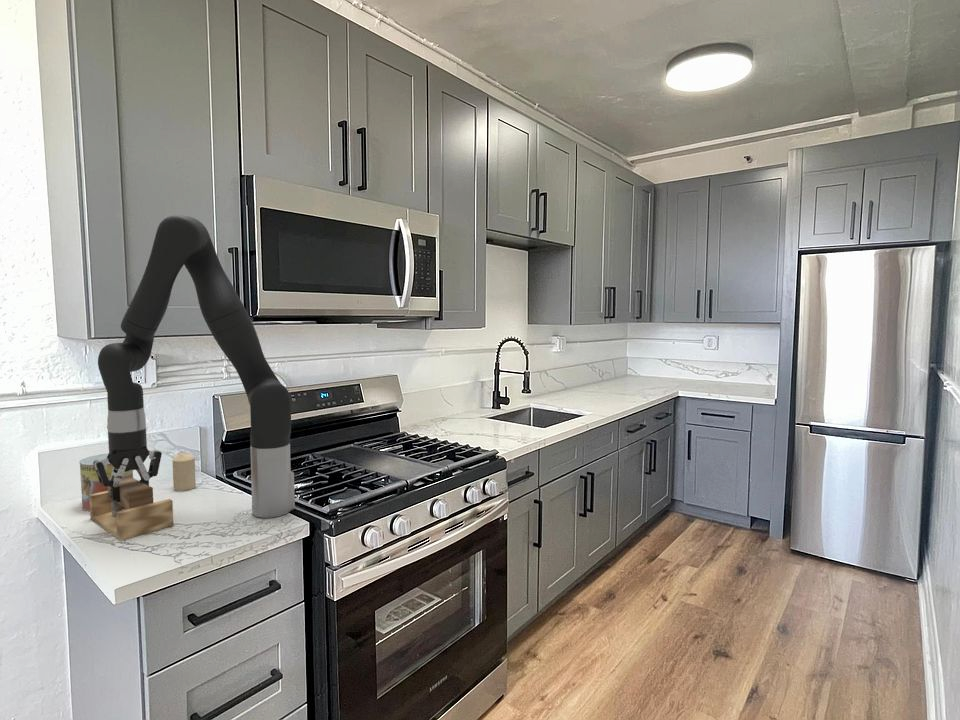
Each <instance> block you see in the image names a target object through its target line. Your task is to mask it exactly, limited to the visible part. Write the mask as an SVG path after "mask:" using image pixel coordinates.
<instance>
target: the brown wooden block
mask: <svg viewBox="0 0 960 720" xmlns="http://www.w3.org/2000/svg"><path fill="white" fill-rule="evenodd" d="M118 486H119V487H120V502H117V503H118V504H119V505H121V506H123V507H124V508H126V509H131V508H135V507H139V506H143V505H147V504H151V503H154V489H153V487H152V486H150V485H149V486H148V485H146V484H144V483H142V482H140V481H139V480H138V479H136V478H134V477H133V478H132V477H128V478H123V479H121V480H120V483H119V485H118ZM108 498H109V499H111V497H110V486H108ZM111 500H112V499H111Z"/></svg>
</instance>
